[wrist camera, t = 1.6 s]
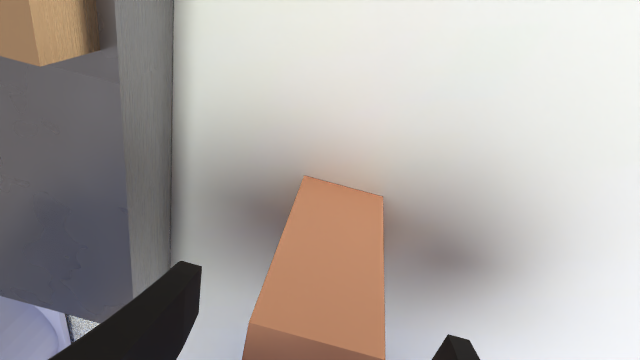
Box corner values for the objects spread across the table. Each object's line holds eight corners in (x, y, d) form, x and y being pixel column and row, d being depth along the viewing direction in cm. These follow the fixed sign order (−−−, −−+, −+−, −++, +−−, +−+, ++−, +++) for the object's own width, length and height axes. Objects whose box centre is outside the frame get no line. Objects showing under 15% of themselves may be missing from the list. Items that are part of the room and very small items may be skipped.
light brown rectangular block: (360, 256, 16) (348, 428, 10) (289, 236, 16) (234, 397, 10) (382, 196, 14) (384, 359, 8) (304, 175, 14) (249, 322, 8)
